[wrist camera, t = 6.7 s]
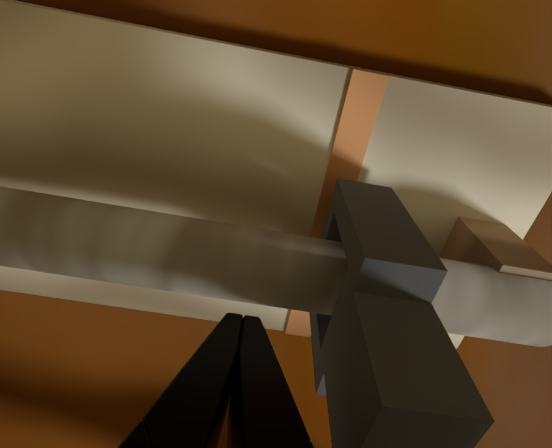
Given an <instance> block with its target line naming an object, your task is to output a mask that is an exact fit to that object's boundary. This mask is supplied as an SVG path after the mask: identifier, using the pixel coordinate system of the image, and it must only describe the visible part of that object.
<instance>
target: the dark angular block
mask: <svg viewBox="0 0 552 448" xmlns="http://www.w3.org/2000/svg"><path fill="white" fill-rule="evenodd" d="M321 239H327V240H333V241H339V242H342V244H343V248H344V252H345V255H346V259H347V263H348V269H347V272H346V275H345V278H344V281H343V284H342V287H341V290H340V293H339V296H338V299H337V302H336V305H335V308H334V311H333V314H332V316H331V315H325V314H318V313H311V312H309V315H310V327H311V339H312V352H313V364H314V376H315V388H316V394H317V395H324V396H327V404H328V413H329V423H330V432H331V441H332V448H474V447H475V445H476V444H477V443H478V442H479V440H480V439H481V438H482V437H483V435H484V434H485V433H486V432H487V430H488V429H489V428H490V426H491V425H492V424H493V423H494V420H493V418H492V416H491V414H490V412H489V410H488V408H487V406H486V405H485V403H484V401H483V399H482V397H481V395H480V393H479V391H478V390H477V388H476V386H475V384H474V382H473V380H472V378H471V376H470V375H469V373H468V371H467V369H466V367H465V365H464V363H463V361H462V360H461V358H460V356H459V354H458V352H457V350H456V348H455V346H454V345H453V343H452V341H451V339H450V337H449V335H448V333H447V331H446V330H445V328H444V326H443V324H442V322H441V320H440V318H439V316H438V315H437V313H436V311H435V309H434V307H433V305H432V301H433V300H434V298H435V296H436V294H437V292H438V290H439V288H440V286H441V284H442V282H443V280H444V278H445V276H446V274H447V272H448V271H447V269H446V268H445V266H444V265H443V263H442V262H441V260H440V259H439V257H438V256H437V254H436V253H435V251H434V250H433V248H432V247H431V245H430V244H429V242H428V241H427V239H426V238H425V236H424V235H423V233H422V232H421V230H420V229H419V227H418V226H417V225H416V223H415V222H414V220H413V219H412V217H411V216H410V214H409V213H408V211H407V210H406V208H405V207H404V205H403V204H402V202H401V201H400V199H399V198H398V196H397V195H396V193H395V192H394V190H393V189H392V188H391V187H385V186H380V185H374V184H368V183H362V182H357V181H351V180H345V179H340V178H337V181H336V185H335V188H334V192H333V196H332V199H331V203H330V206H329V210H328V214H327V217H326V221H325V225H324V228H323V232H322V235H321Z"/></svg>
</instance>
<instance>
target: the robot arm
mask: <svg viewBox="0 0 552 448" xmlns="http://www.w3.org/2000/svg"><path fill="white" fill-rule="evenodd" d="M231 387H232V388H231ZM230 393H231V394H230ZM229 398H230V401H229ZM228 404H229V412H228V434H227V448H314V447H313V445H312V443H311V442H309V441H310V438H309V435H308V433H307V430H306V428H305V426H304V423H303V421H302V418H301V416H300V413H299V411H298V409H297V406H296V404H295V401H294V399H293V396H292V394H291V392H290V389H289V387H288V384H287V382H286V379H285V377H284V375H283V372H282V370H281V367H280V365H279V362H278V360H277V357H276V355H275V353H274V350H273V348H272V345H271V343H270V340H269V338H268V336H267V333H266V331H265V328H264V326H263V323H262V321H261V319H260V318H259V317H256V316H249V315H245V316H244V317H243V315H241V314H236V313H230V312H229V313H226V314H225V316H224V317H223V318H222V319H221V320H220V322H219V323H218V324H217V325H216V327H215V328H214V329H213V330H212V332H211V333H210V334H209V335H208V337H207V338H206V339H205V340H204V342H203V343H202V344H201V345H200V347H199V348H198V349H197V350H196V352H195V353H194V354H193V355H192V357H191V358H190V359H189V360H188V362H187V363H186V364H185V365H184V366H183V368H182V369H181V370H180V371H179V373H178V374H177V375H176V376H175V378H174V379H173V380H172V381H171V383H170V384H169V385H168V386H167V388H166V389H165V390H164V391H163V393H162V394H161V395H160V396H159V398H158V399H157V400H156V401H155V403H154V404H153V405H152V406H151V408H150V409H149V410H148V411H147V412H146V414H145V415H144V416H143V420H140V421H139V422H138V423H137V425H136V426H135V427H134V428H133V430H132V431H131V432H130V433H129V435H128V436H127V437H126V438H125V439H124V441H123V442H122V443H121V444H120V445H119V446H118V448H217V445H218V441H219V437H220V434H221V430H222V427H223V423H224V420H225V416H226V412H227V408H228Z"/></svg>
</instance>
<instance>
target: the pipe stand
mask: <svg viewBox="0 0 552 448" xmlns="http://www.w3.org/2000/svg"><path fill="white" fill-rule="evenodd" d="M337 178H340V179H345V180H351V181H357V182H362V183H368V184H374V185H380V186H385V187H391V188H392V189H393V190H394V192H395V193H396V195H397V196H398V198H399V199H400V201H401V202H402V204H403V205H404V207H405V208H406V210H407V211H408V213H409V214H410V216H411V217H412V219H413V220H414V222H415V223H416V225H417V226H418V227H419V229H420V230H421V232H422V233H423V235H424V236H425V238H426V239H427V241H428V242H429V244H430V245H431V247H432V248H433V250H434V251H435V253H436V254H437V256H438V257H439V259H440V260H441V262H442V263H443V265H444V266H445V268H446V269H447V271H448V272H447V274H446V276H445V278H444V280H443V282H442V284H441V286H440V288H439V290H438V292H437V294H436V296H435V298H434V300H433V301H432V305H433V307H434V309H435V311H436V313H437V315H438V316H439V318H440V320H441V322H442V324H443V326H444V328H445V330H446V331H447V333H448V335H449V337H450V339H451V341H452V343H453V345H454V346H455V348H456V349H457V347H458V346H459V344H460V343H461V341H462V339H463V338H464V336H471V337H478V338H485V339H491V340H498V341H505V342H511V343H518V344H525V345H531V346H538V347H546V346H550V345H552V265H551V264H550V263H548V262H547V261H546V260H545V259H544V258H543V257H542V256H541V255H539V254H538V253H537V252H536V251H535V250H534V249H533V248H531V247H530V246H529V245H528V244H527V243H526V242H525V241H524V240H523V238H524V237H525V235H526V233H527V232H528V230H529V228H530V227H531V225H532V223H533V222H534V220H535V218H536V217H537V215H538V213H539V212H540V210H541V208H542V207H543V205H544V203H545V202H546V200H547V198H548V197H549V195H550V193H551V192H552V105H550V104H544V103H539V102H534V101H529V100H524V99H519V98H514V97H509V96H503V95H498V94H493V93H488V92H483V91H478V90H473V89H468V88H462V87H457V86H452V85H447V84H442V83H437V82H432V81H426V80H421V79H416V78H411V77H406V76H401V75H396V74H391V73H385V72H380V71H375V70H370V69H365V68H360V67H355V66H350V65H344V64H339V63H334V62H329V61H324V60H319V59H314V58H308V57H303V56H298V55H293V54H288V53H283V52H278V51H273V50H267V49H262V48H257V47H252V46H247V45H242V44H237V43H232V42H226V41H221V40H216V39H211V38H206V37H201V36H196V35H190V34H185V33H180V32H175V31H170V30H165V29H160V28H155V27H149V26H144V25H139V24H134V23H129V22H124V21H119V20H114V19H108V18H103V17H98V16H93V15H88V14H83V13H78V12H72V11H67V10H62V9H57V8H52V7H47V6H42V5H37V4H31V3H26V2H21V1H16V0H0V290H6V291H13V292H20V293H27V294H34V295H40V296H47V297H54V298H61V299H68V300H75V301H82V302H88V303H95V304H102V305H109V306H116V307H123V308H129V309H136V310H143V311H150V312H157V313H164V314H171V315H177V316H184V317H191V318H198V319H205V320H212V321H218V322H220V320H221V319H222V318H223V317H224V316H225V314H226V313H229V312H230V313H236V314H241V315H243V317H244V316H245V315H249V316H256V317H259V318H260V319H261V321H262V323H263V326H264V328H266V329H273V330H280V331H285V334H292V335H299V336H305V337H309V336H310V335H311V327H310V315H309V312H311V313H318V314H325V315H331V316H332V314H333V311H334V308H335V305H336V302H337V299H338V296H339V293H340V290H341V287H342V284H343V281H344V278H345V275H346V272H347V269H348V263H347V259H346V255H345V252H344V248H343V244H342V242H339V241H333V240H327V239H321V235H322V232H323V228H324V225H325V221H326V217H327V214H328V210H329V206H330V203H331V199H332V196H333V192H334V188H335V185H336V181H337Z"/></svg>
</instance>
